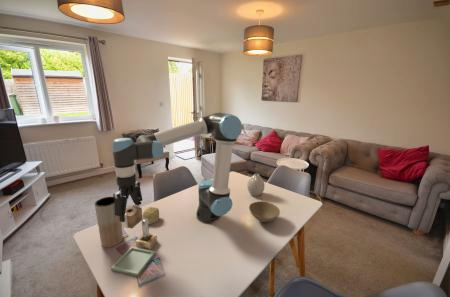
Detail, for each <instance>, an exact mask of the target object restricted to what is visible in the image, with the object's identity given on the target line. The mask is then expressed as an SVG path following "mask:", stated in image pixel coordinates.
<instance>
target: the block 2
mask: <svg viewBox="0 0 450 297" xmlns="http://www.w3.org/2000/svg"><path fill="white" fill-rule="evenodd" d="M149 234H150V240H149V241H148V242H147V241H144V240H143V233H142V234H141V235H140V236H139V237H138V238H137V239H136V240H135V245H136V246H135V247H138V248H143V249H147V250H152V248H153V247H154V246H155V245H156V243H157V242H158V236H157V234H156V233H151V232H149Z"/></svg>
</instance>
